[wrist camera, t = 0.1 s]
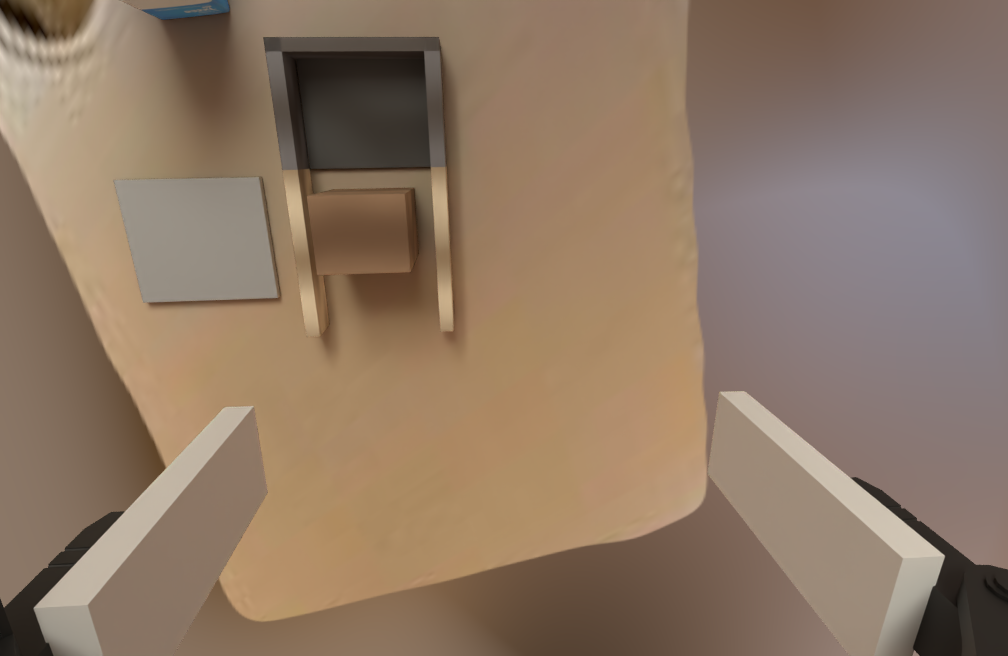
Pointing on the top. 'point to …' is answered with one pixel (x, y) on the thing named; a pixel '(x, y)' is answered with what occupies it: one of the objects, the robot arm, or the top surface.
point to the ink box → (179, 7)
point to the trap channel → (358, 134)
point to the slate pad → (199, 238)
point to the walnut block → (364, 230)
